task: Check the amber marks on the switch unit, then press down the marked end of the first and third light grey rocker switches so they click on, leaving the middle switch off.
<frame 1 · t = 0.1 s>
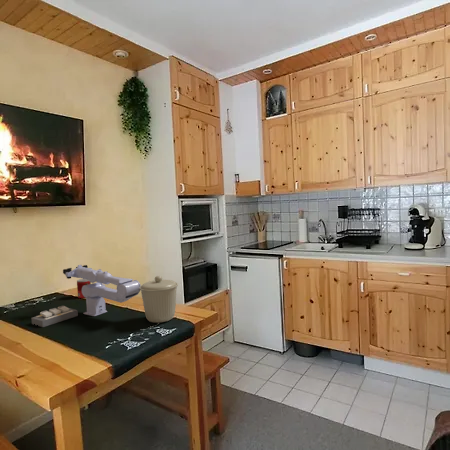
hand: (70, 270, 185), 22 cm above the table, tool horizontal, fingers open, 7 cm apart
switch unit: (55, 319, 167), on the table
canister: (160, 319, 161), on the table
switch b: (54, 311, 167), point 4 cm above the table, hinge at -10.0°
switch a: (63, 308, 171), point 4 cm above the table, hinge at -10.0°
switch c: (46, 313, 163), point 4 cm above the table, hinge at -10.0°
canned food: (84, 297, 210), on the table
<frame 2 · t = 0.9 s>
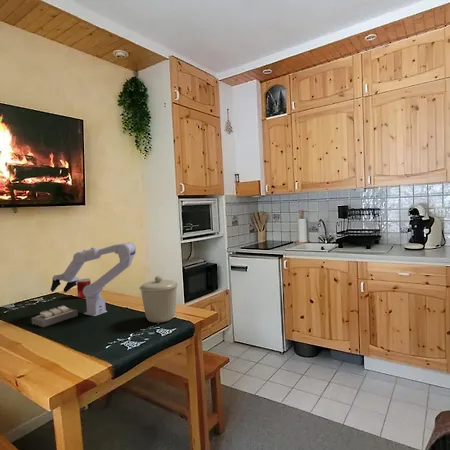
hand: (58, 291, 177), 12 cm above the table, tool tilted 40°, fingers open, 7 cm apart
nothing on the table moved.
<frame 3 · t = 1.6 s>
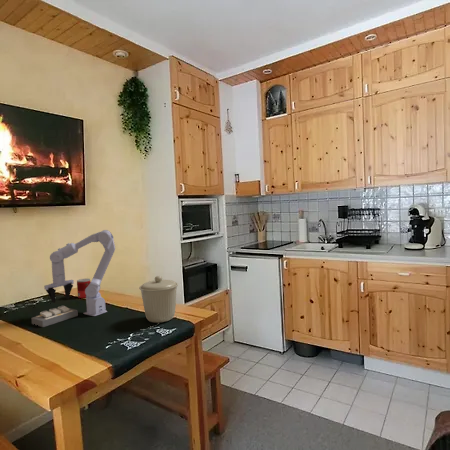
hand: (60, 300, 172), 8 cm above the table, tool pointing down, fingers open, 7 cm apart
nothing on the table moved.
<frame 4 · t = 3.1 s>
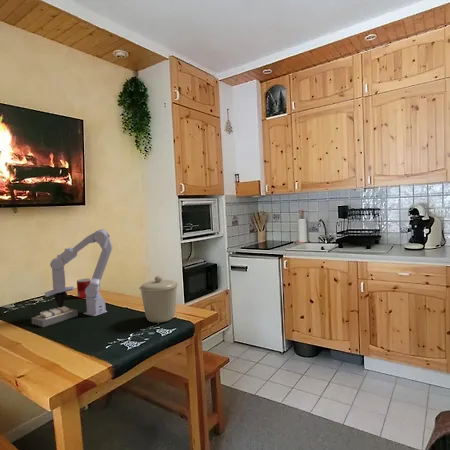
hand: (60, 307, 172), 5 cm above the table, tool pointing down, fingers closed, pressing on switch a
switch a: (63, 308, 171), point 4 cm above the table, hinge at -9.1°, touching gripper
everything else where it was.
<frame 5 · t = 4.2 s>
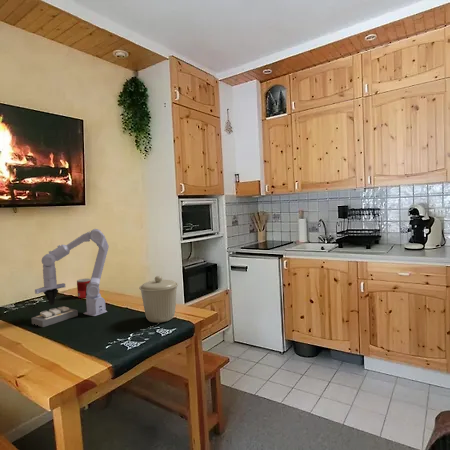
hand: (51, 304, 168), 8 cm above the table, tool pointing down, fingers closed
switch a: (63, 308, 171), point 4 cm above the table, hinge at -1.7°
everything else where it was.
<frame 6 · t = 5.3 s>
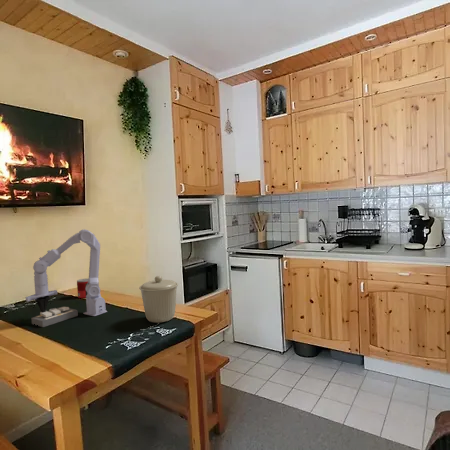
hand: (43, 312, 165), 5 cm above the table, tool pointing down, fingers closed, pressing on switch c
switch a: (63, 308, 171), point 4 cm above the table, hinge at 3.5°
switch c: (46, 313, 163), point 4 cm above the table, hinge at -9.1°, touching gripper
everything else where it was.
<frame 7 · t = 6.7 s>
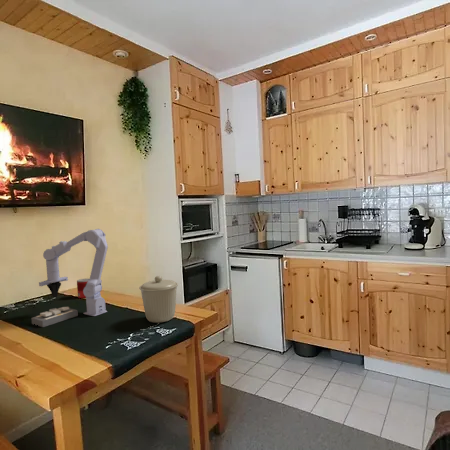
hand: (54, 296, 176), 9 cm above the table, tool pointing down, fingers closed
switch a: (63, 308, 171), point 4 cm above the table, hinge at 7.9°
switch c: (45, 313, 163), point 4 cm above the table, hinge at 0.7°
everything else where it was.
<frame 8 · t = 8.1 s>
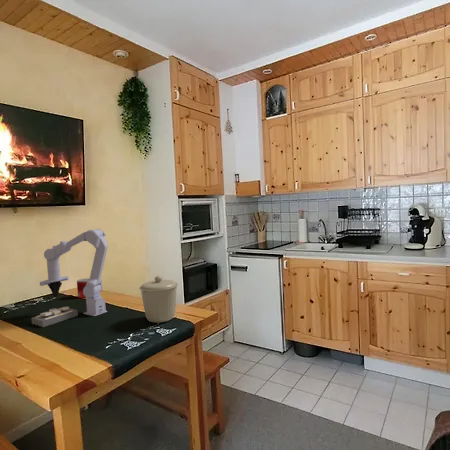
hand: (55, 296, 177), 9 cm above the table, tool pointing down, fingers closed
switch a: (63, 308, 171), point 4 cm above the table, hinge at 10.8°
switch c: (45, 313, 163), point 4 cm above the table, hinge at 6.8°
everything else where it was.
at the end: switch a at +11° (first picture: -10°); switch c at +7° (first picture: -10°); switch b at -10° (first picture: -10°) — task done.
